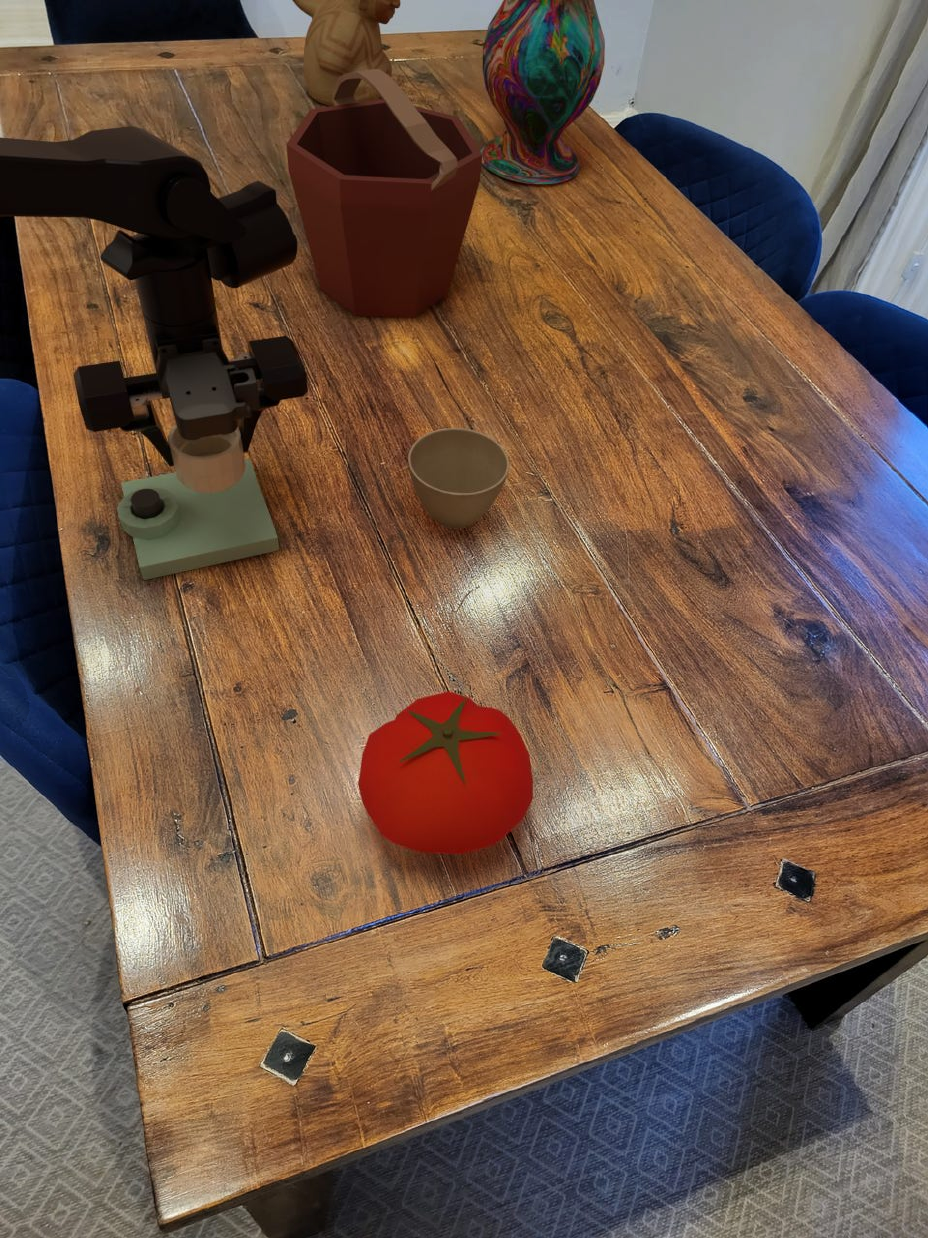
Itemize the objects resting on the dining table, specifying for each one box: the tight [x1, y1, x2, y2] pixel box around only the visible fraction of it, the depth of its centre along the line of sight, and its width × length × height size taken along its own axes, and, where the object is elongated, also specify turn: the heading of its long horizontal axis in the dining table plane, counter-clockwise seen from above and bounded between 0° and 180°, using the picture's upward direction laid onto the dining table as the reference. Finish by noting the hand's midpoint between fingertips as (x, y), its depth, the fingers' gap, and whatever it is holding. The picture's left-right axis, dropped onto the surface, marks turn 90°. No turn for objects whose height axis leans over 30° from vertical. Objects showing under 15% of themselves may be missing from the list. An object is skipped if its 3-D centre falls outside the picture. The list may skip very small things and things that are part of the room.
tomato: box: [357, 690, 534, 855], centre depth 66 cm, size 13×12×11 cm
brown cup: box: [407, 427, 510, 530], centre depth 89 cm, size 10×10×7 cm
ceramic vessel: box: [291, 0, 402, 107], centre depth 145 cm, size 17×20×25 cm
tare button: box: [131, 489, 162, 519], centre depth 84 cm, size 3×3×2 cm
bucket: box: [286, 69, 483, 319], centre depth 108 cm, size 24×22×25 cm
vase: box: [480, 0, 606, 185], centre depth 132 cm, size 18×18×30 cm
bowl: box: [167, 423, 246, 493], centre depth 82 cm, size 6×6×4 cm
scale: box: [116, 458, 280, 581], centre depth 86 cm, size 14×12×4 cm
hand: (208, 456), depth 82 cm, fingers closed on bowl, 6 cm apart
